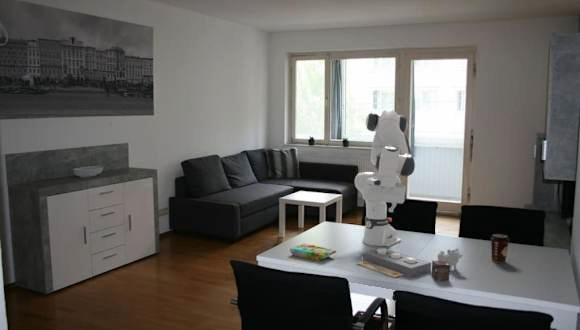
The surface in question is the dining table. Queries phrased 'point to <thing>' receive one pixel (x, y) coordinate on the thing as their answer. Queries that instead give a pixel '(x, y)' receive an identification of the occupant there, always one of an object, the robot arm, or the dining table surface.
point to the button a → (381, 251)
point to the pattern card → (380, 269)
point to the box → (440, 270)
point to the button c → (410, 260)
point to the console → (397, 262)
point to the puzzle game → (311, 252)
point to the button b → (395, 255)
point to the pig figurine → (450, 257)
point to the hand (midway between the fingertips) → (381, 211)
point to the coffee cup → (499, 247)
